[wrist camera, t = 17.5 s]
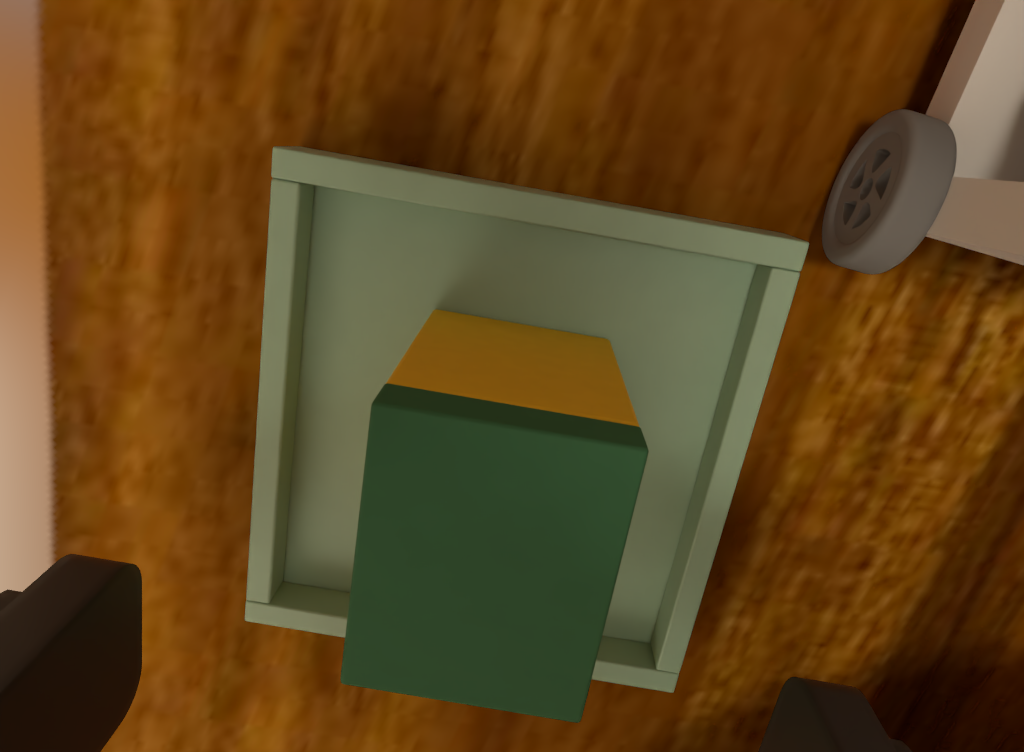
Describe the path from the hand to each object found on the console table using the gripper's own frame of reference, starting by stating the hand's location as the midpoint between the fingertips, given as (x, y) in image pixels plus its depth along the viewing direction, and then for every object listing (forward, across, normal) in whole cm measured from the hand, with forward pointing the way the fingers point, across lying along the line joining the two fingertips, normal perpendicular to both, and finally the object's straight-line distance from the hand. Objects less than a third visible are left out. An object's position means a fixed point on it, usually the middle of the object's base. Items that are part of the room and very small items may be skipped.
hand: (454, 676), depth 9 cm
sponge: (+8, 0, 0) cm, 8 cm away
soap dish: (+9, 0, 0) cm, 9 cm away
